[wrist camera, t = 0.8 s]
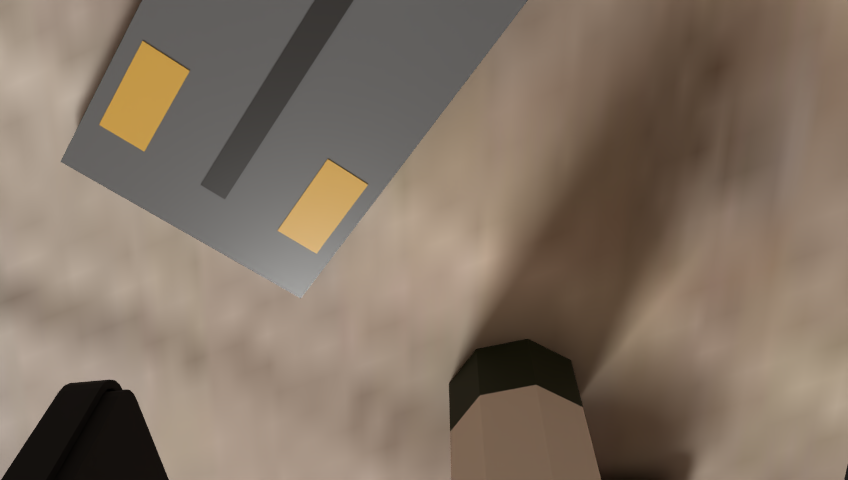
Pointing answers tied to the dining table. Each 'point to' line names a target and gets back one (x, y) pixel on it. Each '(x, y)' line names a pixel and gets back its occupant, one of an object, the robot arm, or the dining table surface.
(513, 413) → the wine bottle
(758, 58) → the dining table surface
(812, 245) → the dining table surface
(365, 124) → the fader console
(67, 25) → the dining table surface
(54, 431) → the robot arm
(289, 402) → the dining table surface
